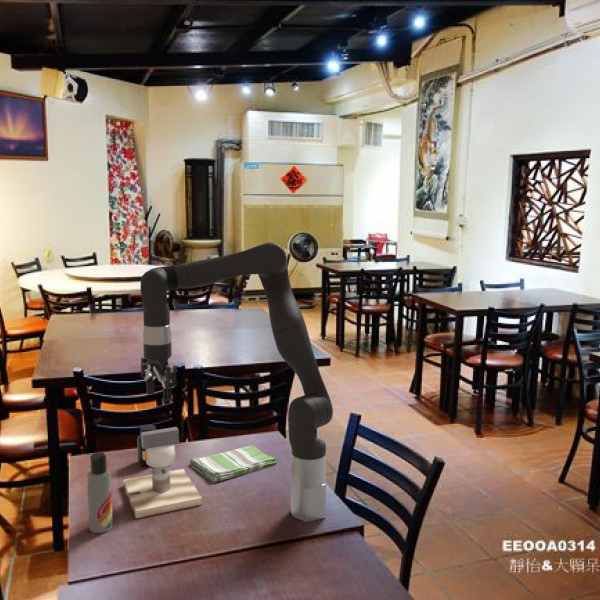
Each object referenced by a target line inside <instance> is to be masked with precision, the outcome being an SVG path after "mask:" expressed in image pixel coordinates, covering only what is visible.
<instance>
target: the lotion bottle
mask: <svg viewBox="0 0 600 600" xmlns="http://www.w3.org/2000/svg"><path fill="white" fill-rule="evenodd" d="M89 459H90V460H89V462H90V470H89V471H88V472H87V475H86V481H87V501H88V503H87V505H88V506H87V507H88V508H87V509H88V525H89V530H90V531H91V533H93V534H102V533H106V532H108V531H110V530H111V529H112V528H113V497H112V474H111V473H112V472H111V470H110V469H109V468H108V467H107V455H106V454H105V452H103V451H98V452H95V453H92V454H91V455H90V458H89Z"/></svg>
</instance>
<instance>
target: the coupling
mask: <svg viewBox="0 0 600 600" xmlns="http://www.w3.org/2000/svg"><path fill="white" fill-rule="evenodd" d="M179 432H180V431H179V428H178V427H177V426H173V427H168V428H161V429H156V430H154V431H147V432H141V434H140V435H141V442H142V447H143V449H146V451H142V454H143V460H146V463H147V465H149V466H150V467H151V468H152V467H165V466H169V465H170V466H171V465H173V464H174V463H175V461H176V444H179V443H180V436H179V434H180V433H179Z"/></svg>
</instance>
